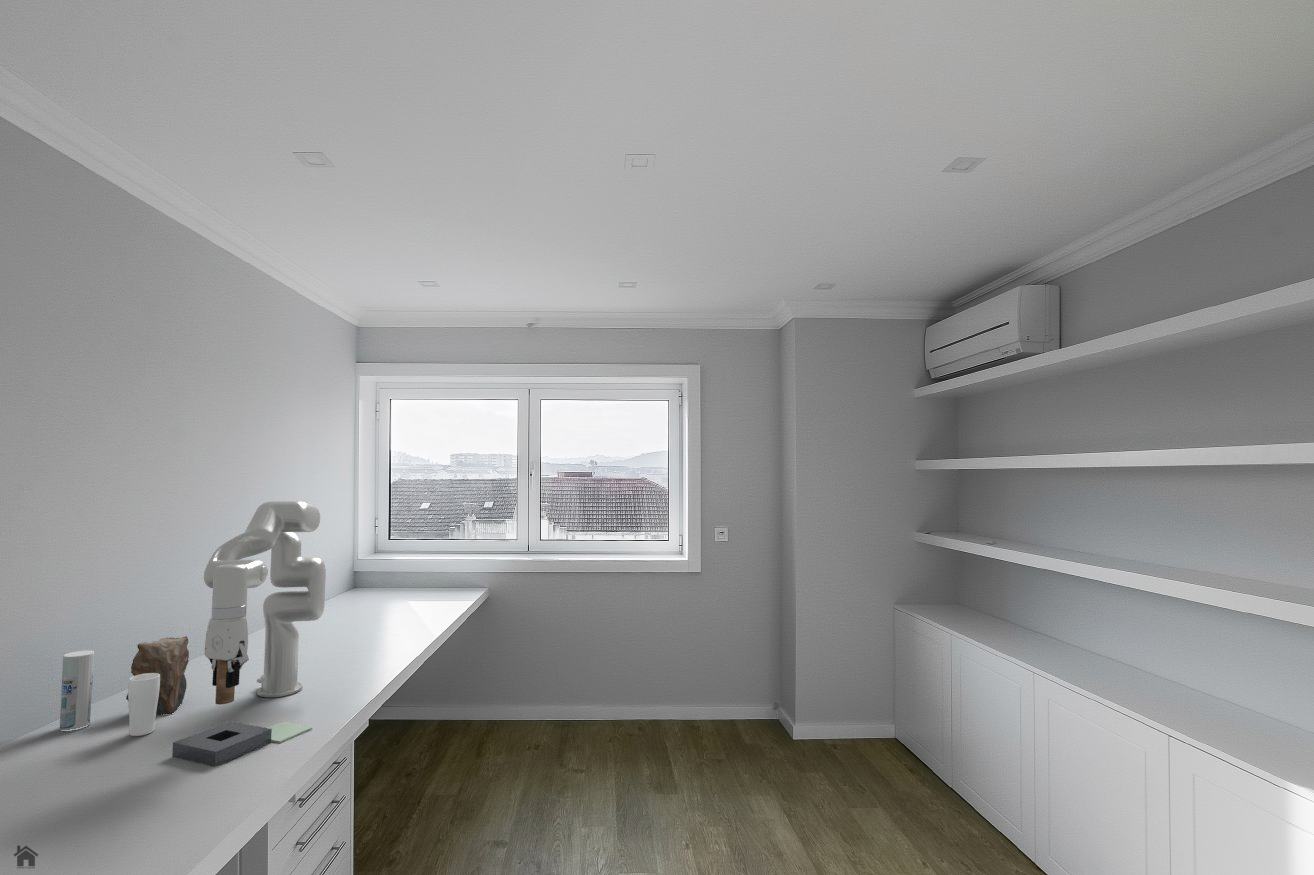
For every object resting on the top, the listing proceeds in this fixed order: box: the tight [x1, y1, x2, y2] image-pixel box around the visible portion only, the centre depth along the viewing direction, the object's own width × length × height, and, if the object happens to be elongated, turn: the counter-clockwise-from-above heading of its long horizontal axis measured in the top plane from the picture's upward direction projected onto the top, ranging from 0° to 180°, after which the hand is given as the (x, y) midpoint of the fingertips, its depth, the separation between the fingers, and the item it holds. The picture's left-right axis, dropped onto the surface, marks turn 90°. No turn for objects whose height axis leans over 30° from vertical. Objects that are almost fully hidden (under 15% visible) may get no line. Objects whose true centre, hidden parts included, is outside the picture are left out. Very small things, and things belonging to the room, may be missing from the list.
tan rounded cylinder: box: [215, 660, 236, 706], centre depth 167 cm, size 4×4×12 cm
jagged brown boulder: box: [125, 635, 190, 716], centre depth 194 cm, size 13×13×20 cm
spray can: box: [59, 649, 95, 731], centre depth 179 cm, size 6×6×20 cm
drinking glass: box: [127, 673, 160, 737], centre depth 176 cm, size 7×7×15 cm
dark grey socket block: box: [171, 720, 272, 768], centre depth 166 cm, size 15×15×4 cm
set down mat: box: [267, 721, 313, 744], centre depth 176 cm, size 11×10×1 cm
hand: (225, 684), depth 167 cm, fingers closed on tan rounded cylinder, 4 cm apart
